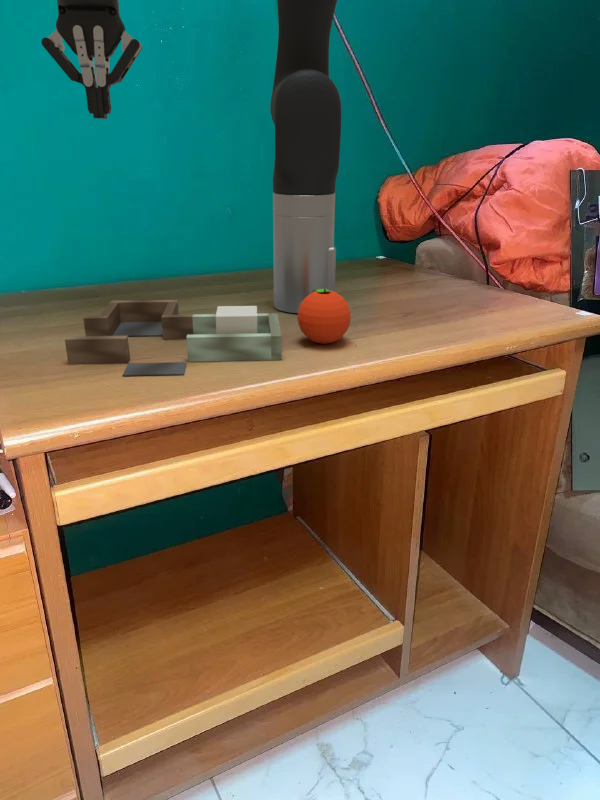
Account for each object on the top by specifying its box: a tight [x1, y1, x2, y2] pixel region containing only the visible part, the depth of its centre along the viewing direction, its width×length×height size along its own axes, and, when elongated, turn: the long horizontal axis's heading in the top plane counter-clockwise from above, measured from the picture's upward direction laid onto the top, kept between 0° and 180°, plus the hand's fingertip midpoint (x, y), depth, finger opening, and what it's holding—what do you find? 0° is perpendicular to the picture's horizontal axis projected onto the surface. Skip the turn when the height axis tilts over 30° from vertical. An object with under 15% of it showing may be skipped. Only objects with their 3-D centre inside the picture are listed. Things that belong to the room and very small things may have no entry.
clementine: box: [297, 289, 352, 345], centre depth 82 cm, size 8×7×7 cm
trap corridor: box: [64, 299, 282, 377], centre depth 81 cm, size 25×23×3 cm
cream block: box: [215, 305, 258, 334], centre depth 79 cm, size 5×5×5 cm
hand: (100, 118), depth 85 cm, fingers closed
